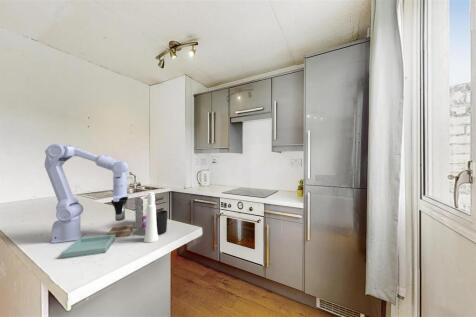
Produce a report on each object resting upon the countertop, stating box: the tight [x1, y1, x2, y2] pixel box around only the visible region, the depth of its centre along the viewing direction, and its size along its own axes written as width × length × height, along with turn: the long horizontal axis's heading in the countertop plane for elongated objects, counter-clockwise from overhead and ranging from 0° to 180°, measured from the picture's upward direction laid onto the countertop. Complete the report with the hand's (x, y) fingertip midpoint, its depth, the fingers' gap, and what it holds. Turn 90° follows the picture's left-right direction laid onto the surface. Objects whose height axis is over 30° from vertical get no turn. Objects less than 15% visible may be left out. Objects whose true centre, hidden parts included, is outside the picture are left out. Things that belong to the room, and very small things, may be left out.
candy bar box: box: [134, 194, 148, 230], centre depth 107 cm, size 11×5×16 cm, turn 168°
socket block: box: [107, 224, 134, 238], centre depth 95 cm, size 9×9×2 cm
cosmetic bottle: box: [143, 191, 159, 244], centre depth 87 cm, size 6×6×22 cm
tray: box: [61, 234, 117, 260], centre depth 80 cm, size 14×14×2 cm
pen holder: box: [156, 209, 168, 236], centre depth 96 cm, size 9×9×10 cm
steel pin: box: [114, 204, 126, 222], centre depth 94 cm, size 4×4×8 cm
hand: (120, 213), depth 94 cm, fingers closed on steel pin, 4 cm apart
